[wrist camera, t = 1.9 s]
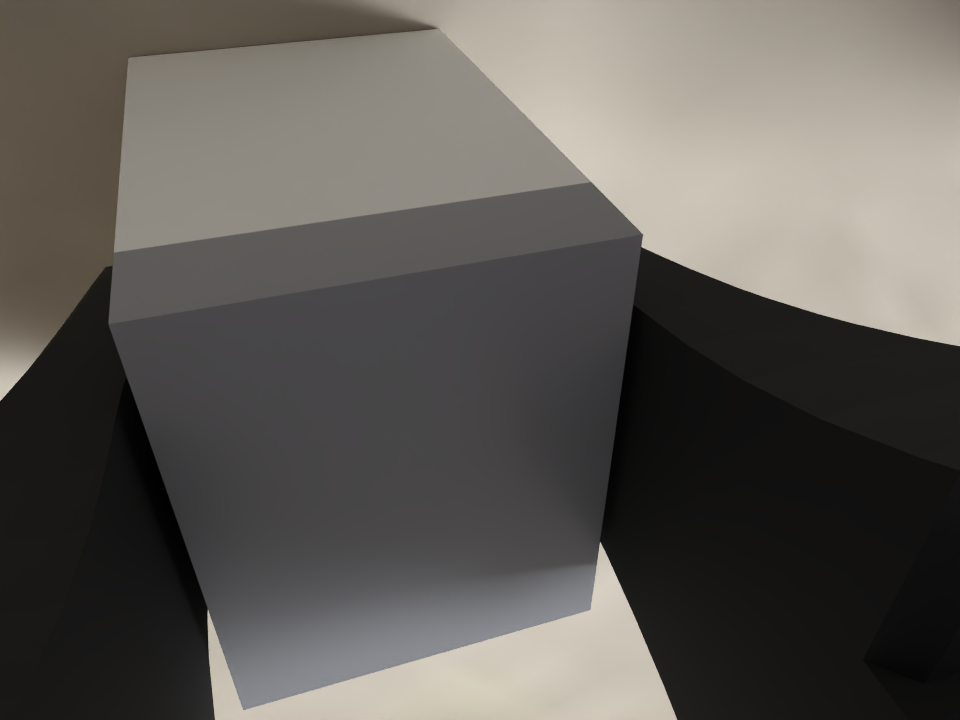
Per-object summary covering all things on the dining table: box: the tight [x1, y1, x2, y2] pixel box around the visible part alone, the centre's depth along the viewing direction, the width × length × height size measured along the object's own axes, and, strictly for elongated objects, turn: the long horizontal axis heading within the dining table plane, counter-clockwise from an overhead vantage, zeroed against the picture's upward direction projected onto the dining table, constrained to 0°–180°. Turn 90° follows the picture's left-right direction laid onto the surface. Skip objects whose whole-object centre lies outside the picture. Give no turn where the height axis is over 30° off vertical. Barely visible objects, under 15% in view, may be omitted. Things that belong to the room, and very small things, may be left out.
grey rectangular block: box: [108, 29, 643, 710], centre depth 10 cm, size 4×5×6 cm
